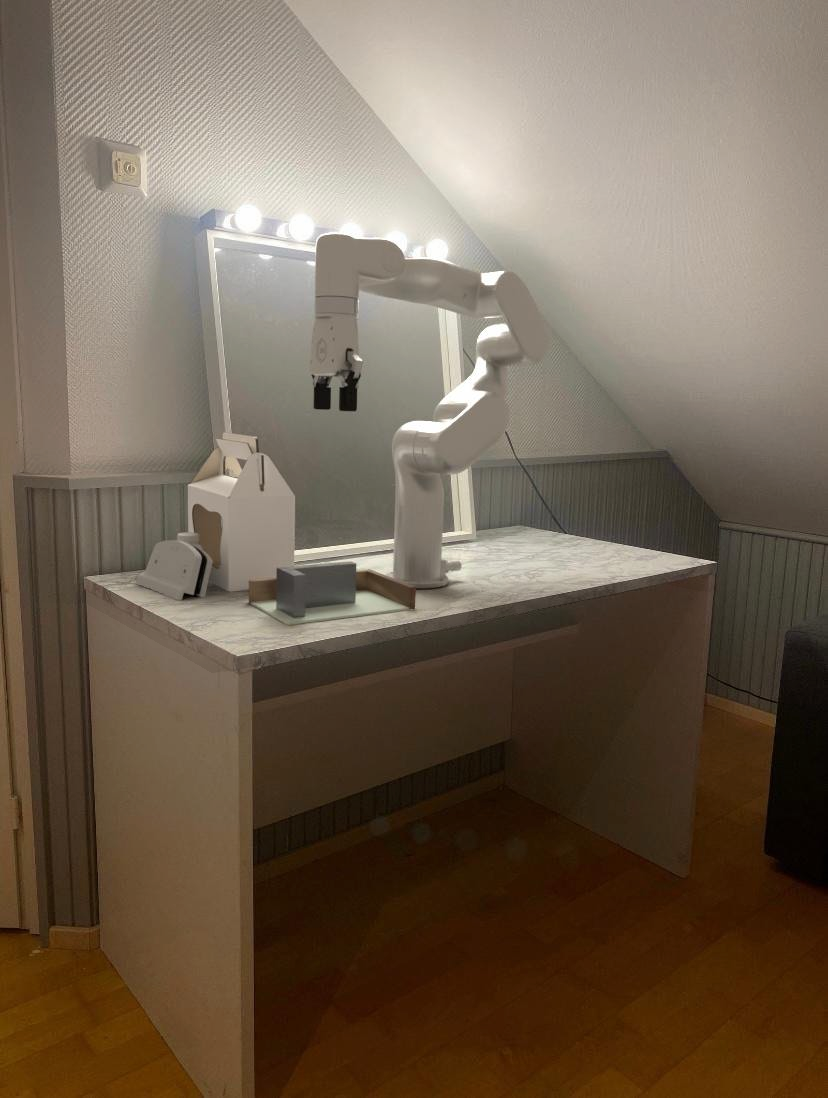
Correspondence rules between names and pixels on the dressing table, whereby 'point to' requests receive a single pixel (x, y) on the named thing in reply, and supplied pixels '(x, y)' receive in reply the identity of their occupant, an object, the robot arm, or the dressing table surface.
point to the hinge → (177, 569)
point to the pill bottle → (189, 538)
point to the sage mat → (335, 609)
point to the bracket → (314, 586)
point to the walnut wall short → (391, 589)
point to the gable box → (242, 514)
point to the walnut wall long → (267, 587)
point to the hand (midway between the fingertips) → (334, 410)
